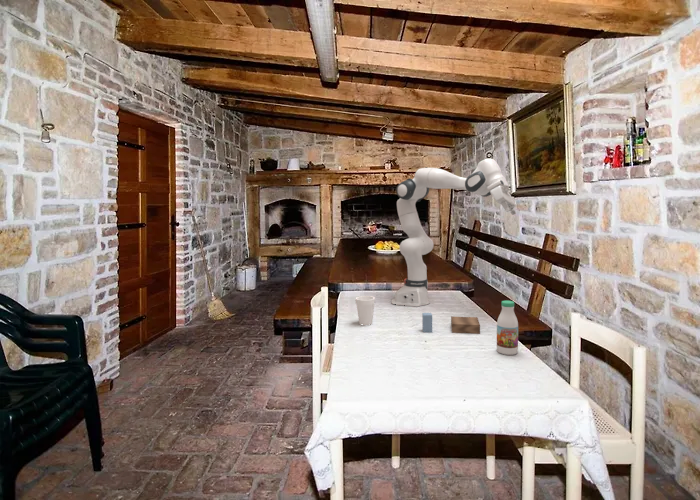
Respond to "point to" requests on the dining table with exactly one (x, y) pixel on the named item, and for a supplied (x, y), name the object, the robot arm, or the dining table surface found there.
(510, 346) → the milk bottle
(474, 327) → the base brick
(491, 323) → the dining table surface
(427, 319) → the tower block
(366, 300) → the foam cup
